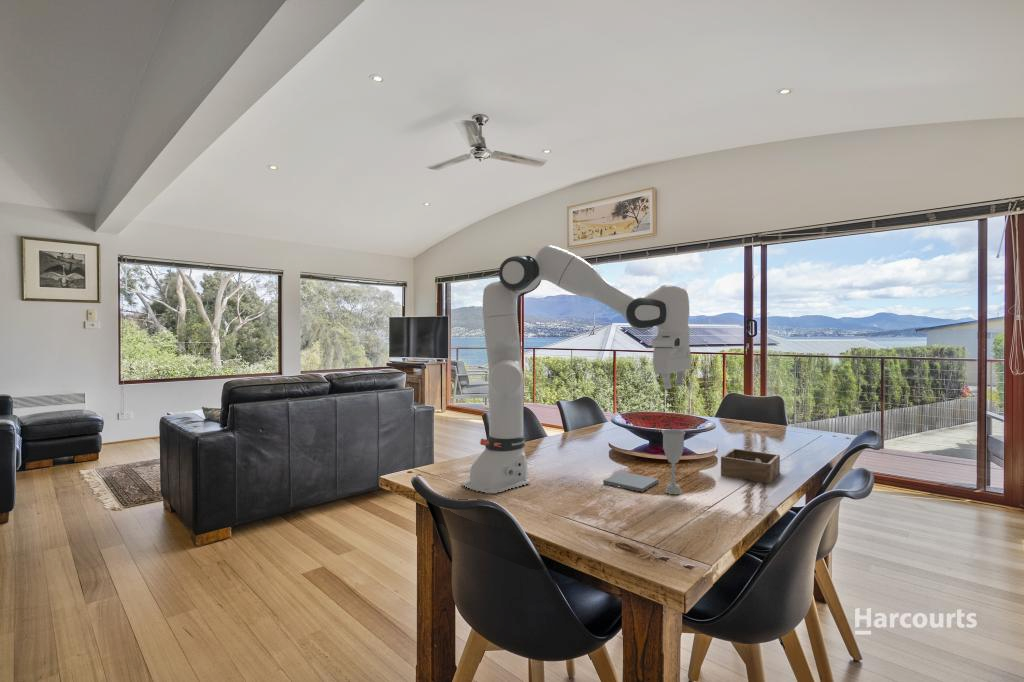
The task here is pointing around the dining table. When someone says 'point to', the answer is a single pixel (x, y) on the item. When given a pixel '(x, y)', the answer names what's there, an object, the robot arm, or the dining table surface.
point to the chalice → (673, 454)
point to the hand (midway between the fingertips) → (673, 387)
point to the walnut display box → (750, 465)
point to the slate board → (631, 481)
